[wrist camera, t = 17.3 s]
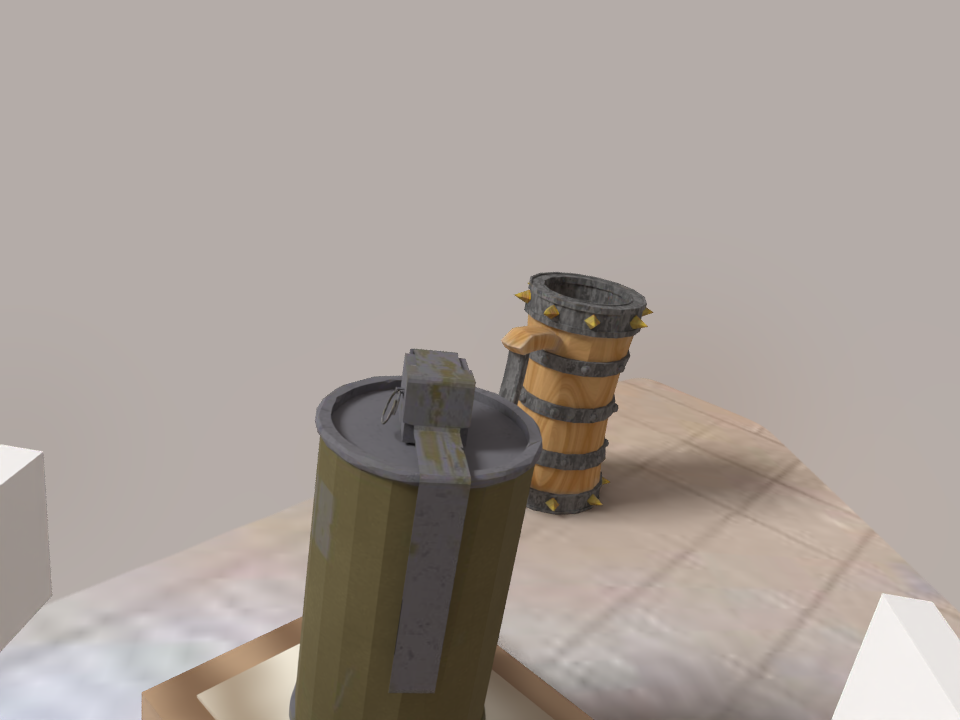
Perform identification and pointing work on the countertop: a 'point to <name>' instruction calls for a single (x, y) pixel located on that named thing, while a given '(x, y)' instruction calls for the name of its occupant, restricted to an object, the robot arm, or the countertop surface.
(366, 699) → the canister
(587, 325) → the mug
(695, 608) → the countertop surface
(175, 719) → the oak plinth
